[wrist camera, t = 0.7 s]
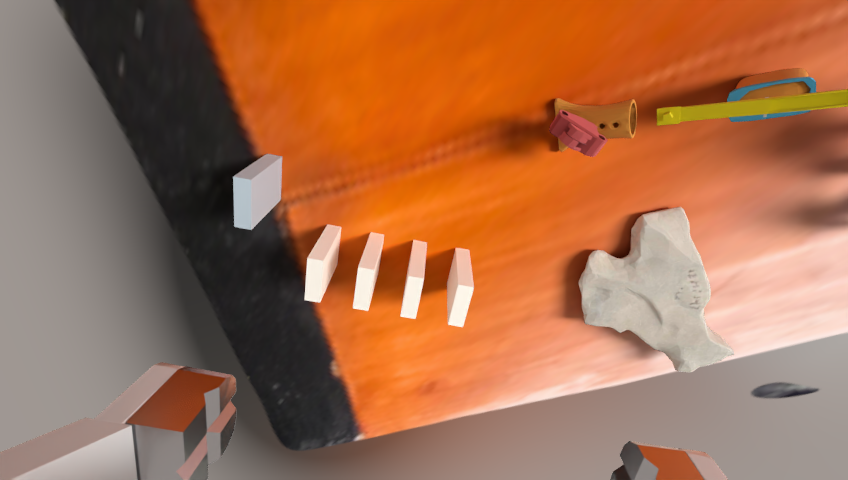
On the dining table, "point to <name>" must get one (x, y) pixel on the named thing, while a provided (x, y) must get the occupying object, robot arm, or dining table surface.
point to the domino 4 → (414, 280)
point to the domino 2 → (322, 263)
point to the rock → (656, 291)
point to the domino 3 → (368, 271)
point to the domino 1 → (257, 190)
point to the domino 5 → (459, 287)
